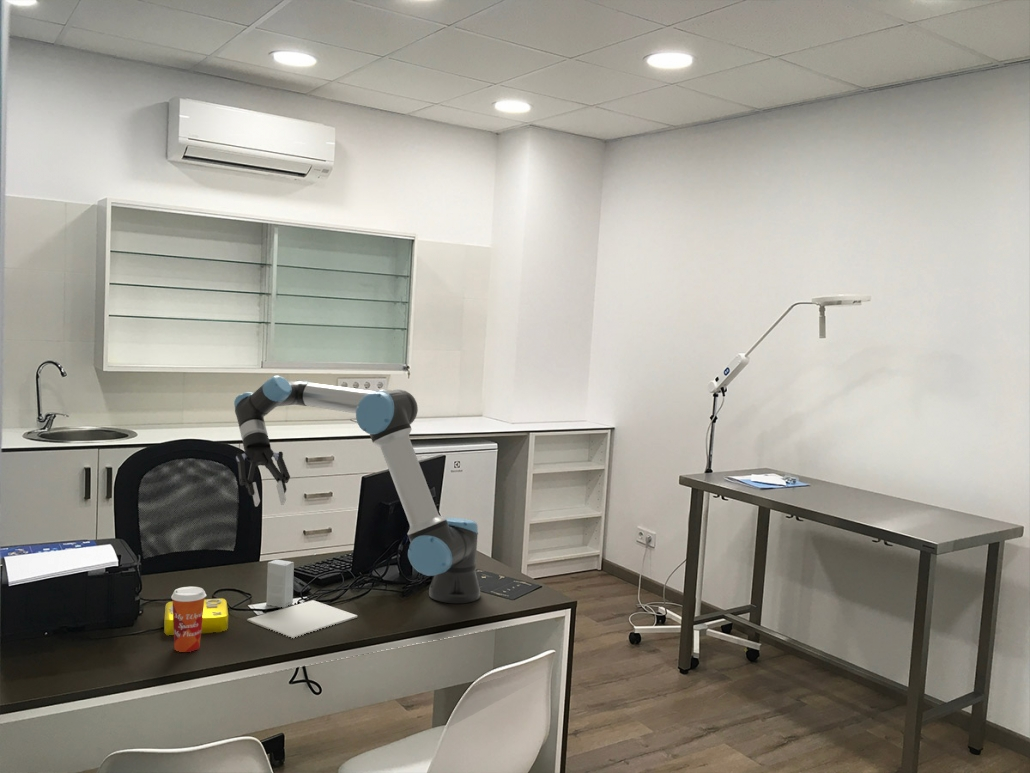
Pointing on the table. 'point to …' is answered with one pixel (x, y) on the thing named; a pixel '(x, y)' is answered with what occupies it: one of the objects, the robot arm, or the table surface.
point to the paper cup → (187, 617)
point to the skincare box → (280, 583)
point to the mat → (302, 618)
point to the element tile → (212, 616)
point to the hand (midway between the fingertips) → (270, 502)
